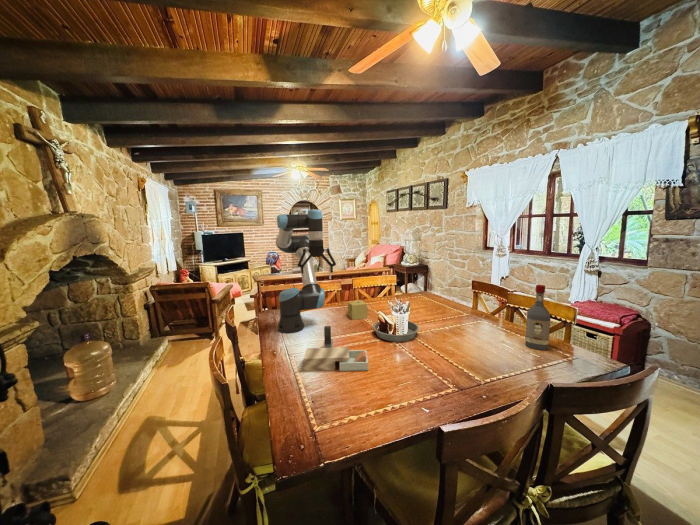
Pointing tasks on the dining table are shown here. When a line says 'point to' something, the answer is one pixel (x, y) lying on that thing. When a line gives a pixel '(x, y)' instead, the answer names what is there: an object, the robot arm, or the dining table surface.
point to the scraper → (327, 337)
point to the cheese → (357, 310)
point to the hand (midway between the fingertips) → (317, 279)
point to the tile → (360, 357)
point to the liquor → (538, 323)
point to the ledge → (324, 358)
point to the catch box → (353, 365)
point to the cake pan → (398, 338)
